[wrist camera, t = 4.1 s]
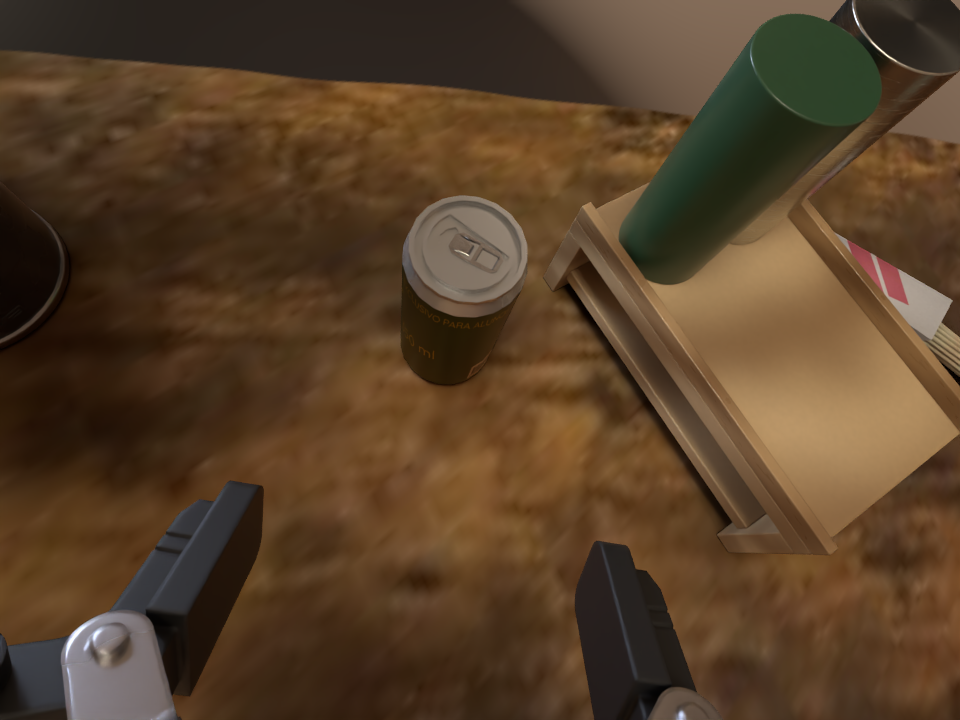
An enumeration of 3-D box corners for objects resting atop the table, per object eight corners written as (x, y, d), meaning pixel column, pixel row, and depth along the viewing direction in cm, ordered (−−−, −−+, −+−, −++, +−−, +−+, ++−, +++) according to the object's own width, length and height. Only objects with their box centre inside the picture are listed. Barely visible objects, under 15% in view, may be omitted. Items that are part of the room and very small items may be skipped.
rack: (542, 277, 37) (682, 22, 19) (679, 206, 40) (909, -68, 22) (728, 552, 33) (1127, 563, 15) (863, 449, 36) (1322, 355, 18)
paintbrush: (837, 206, 38) (1077, 402, 37) (807, 226, 40) (1031, 411, 39) (812, 242, 37) (1060, 447, 35) (783, 261, 39) (1013, 452, 38)
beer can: (503, 331, 35) (554, 229, 24) (462, 404, 33) (496, 332, 22) (428, 289, 35) (443, 169, 24) (383, 360, 33) (376, 266, 22)
